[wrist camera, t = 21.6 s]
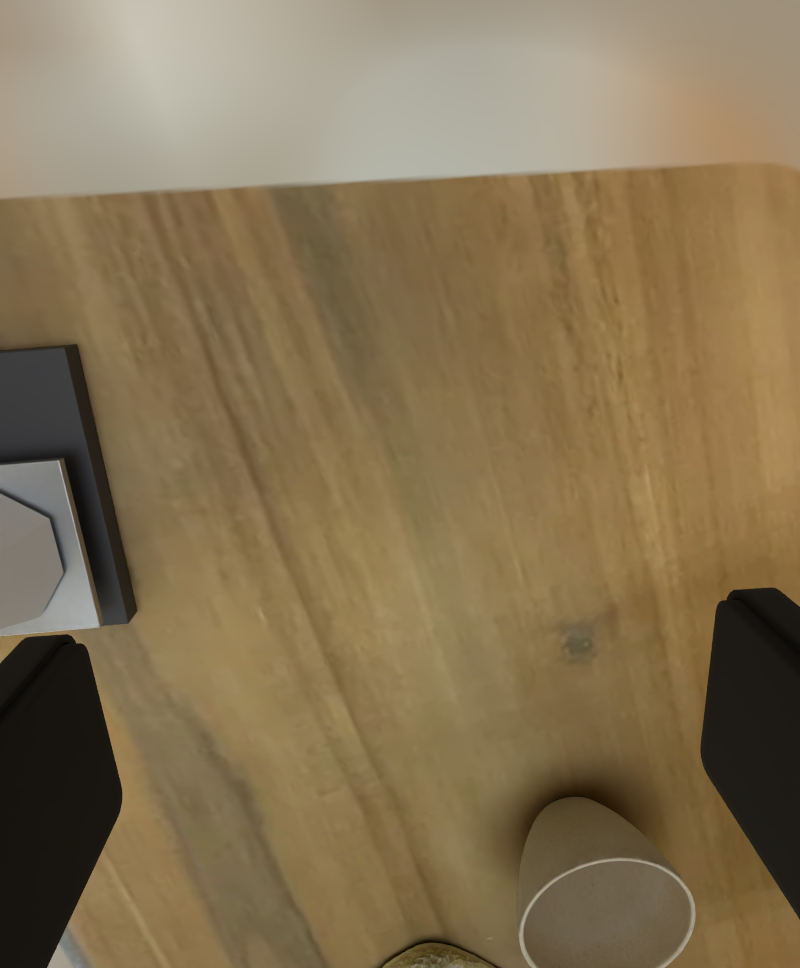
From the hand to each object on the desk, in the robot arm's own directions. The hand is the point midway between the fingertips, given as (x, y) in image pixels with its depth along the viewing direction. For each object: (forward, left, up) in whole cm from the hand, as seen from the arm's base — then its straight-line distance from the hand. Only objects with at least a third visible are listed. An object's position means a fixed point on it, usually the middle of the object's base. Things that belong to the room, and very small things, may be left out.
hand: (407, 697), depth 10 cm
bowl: (+30, +10, -26) cm, 40 cm away
